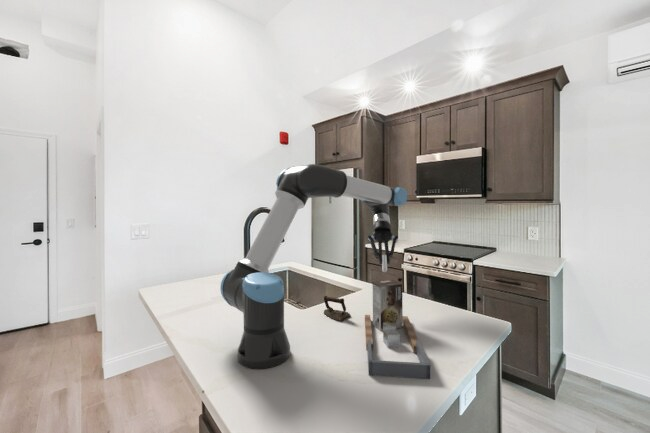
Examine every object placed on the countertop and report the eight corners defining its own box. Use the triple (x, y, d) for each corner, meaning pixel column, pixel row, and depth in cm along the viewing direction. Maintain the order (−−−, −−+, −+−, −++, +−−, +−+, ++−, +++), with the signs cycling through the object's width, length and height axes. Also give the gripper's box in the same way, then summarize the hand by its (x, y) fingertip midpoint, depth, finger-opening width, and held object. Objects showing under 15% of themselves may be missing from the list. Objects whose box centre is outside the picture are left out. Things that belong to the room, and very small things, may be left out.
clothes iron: (342, 324, 112) (335, 298, 112) (320, 323, 119) (313, 299, 119) (352, 316, 118) (346, 292, 118) (330, 316, 125) (324, 293, 125)
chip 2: (399, 347, 93) (400, 334, 93) (387, 348, 93) (387, 335, 92) (395, 341, 97) (395, 329, 97) (383, 342, 97) (383, 329, 96)
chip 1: (396, 339, 99) (396, 327, 98) (383, 338, 99) (383, 326, 99) (394, 333, 103) (394, 322, 102) (382, 333, 103) (383, 321, 103)
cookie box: (393, 321, 113) (393, 279, 113) (403, 327, 107) (403, 283, 106) (371, 324, 110) (372, 281, 110) (380, 331, 104) (380, 285, 103)
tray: (430, 378, 76) (430, 365, 76) (368, 375, 78) (368, 361, 78) (419, 353, 89) (419, 341, 89) (367, 350, 91) (367, 339, 91)
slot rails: (420, 353, 89) (420, 346, 89) (366, 350, 91) (366, 344, 91) (407, 321, 113) (407, 316, 113) (364, 319, 115) (364, 314, 114)
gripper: (396, 230, 137) (400, 275, 121) (366, 230, 138) (367, 274, 122) (397, 219, 131) (402, 265, 115) (367, 219, 133) (368, 264, 117)
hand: (384, 270), depth 119 cm, fingers closed
